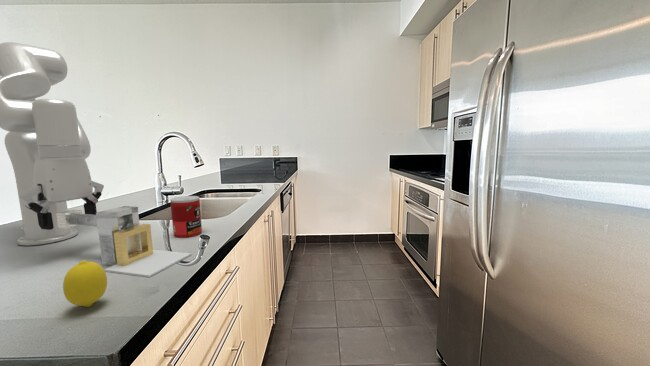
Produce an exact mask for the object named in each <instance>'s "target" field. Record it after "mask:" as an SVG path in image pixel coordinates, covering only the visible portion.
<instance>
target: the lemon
mask: <svg viewBox="0 0 650 366" xmlns="http://www.w3.org/2000/svg"><path fill="white" fill-rule="evenodd" d="M106 273H107V272H106V271H104V268H103V267H102V266H101V265H100V264H99V263H96V262H94V261H87V260H84V259H83V260H81V261H80V262H79V263H77V264H75V265H73V266H72V267H71V268H70V269H69V270H68V271H67V272H66V274H65V276H64V278H63V283H62V290H63V295H64V297H65V299H66V300H67V302H69V303H70V304H72V305H75V306H80V307H82V306H83V307H86V308H90V307H91V306H93V305H94V303H95V302H97V301H98V300H100V299H101V298H102V297H103V296H104V294H105V292H106V290H107V287H108V286H107V285H108V277H107V274H106Z"/></svg>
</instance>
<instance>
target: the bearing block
mask: <svg viewBox="0 0 650 366" xmlns="http://www.w3.org/2000/svg"><path fill="white" fill-rule="evenodd" d="M120 216H124V217H126V218H127V219H128V224H127V226H126V227H125V228H123V229H119V226H118V217H120ZM96 218H97V226H98V227H97V230H98V231H97V232H98V240H99V248H100V257H101V264H102V265H104V266H109V267H111V266H114V265H116V264H117V258H116V250H115V241H114V233H115V232H118V231H121V230H125V229H128V228H131V227H135V226H138V225H141V224H140V217H139V207H138V206H132V205H131V206H128V205H124V206H123V205H122V206H120V207H115V208H111V209H106V210H102V211H97V213H96ZM126 239H127V248H128V255H131V254H133V253H136V252H138V251H141V250H142V246H141V236H140V233H138V234H135V235H131V236H128V237H126Z"/></svg>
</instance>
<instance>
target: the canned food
mask: <svg viewBox="0 0 650 366" xmlns="http://www.w3.org/2000/svg"><path fill="white" fill-rule="evenodd" d="M200 201H201V200H200V196H197V195H183V196H182V195H181V196H176V197H172V198H170V210H171V211H170V213H171V220H172V221H171V223H172V232H173V233H172V234H173V235H174V237H176V238H179V239H180V238H181V239H182V238H192V236H193V237H196V236H199V235H200V234H202V231H203V230H202V229H203V228H202V215H201V214H202V213H201V202H200Z"/></svg>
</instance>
